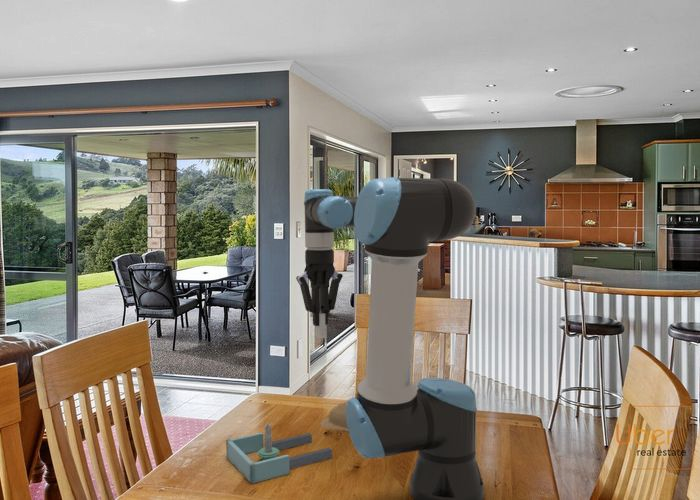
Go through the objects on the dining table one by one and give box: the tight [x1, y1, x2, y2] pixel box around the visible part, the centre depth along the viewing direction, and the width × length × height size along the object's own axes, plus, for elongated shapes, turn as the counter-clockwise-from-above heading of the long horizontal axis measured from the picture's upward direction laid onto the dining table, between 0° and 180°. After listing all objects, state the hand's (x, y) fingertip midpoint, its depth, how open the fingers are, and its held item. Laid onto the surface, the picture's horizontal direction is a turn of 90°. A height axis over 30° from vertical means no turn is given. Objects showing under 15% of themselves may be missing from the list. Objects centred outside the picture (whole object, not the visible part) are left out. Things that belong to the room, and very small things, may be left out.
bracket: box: [225, 432, 290, 484], centre depth 134 cm, size 16×9×4 cm, turn 31°
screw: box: [257, 423, 280, 461], centre depth 136 cm, size 9×5×5 cm
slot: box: [272, 432, 333, 469], centre depth 140 cm, size 12×12×2 cm
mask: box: [320, 401, 349, 432], centre depth 158 cm, size 15×7×30 cm
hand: (320, 337), depth 154 cm, fingers closed
